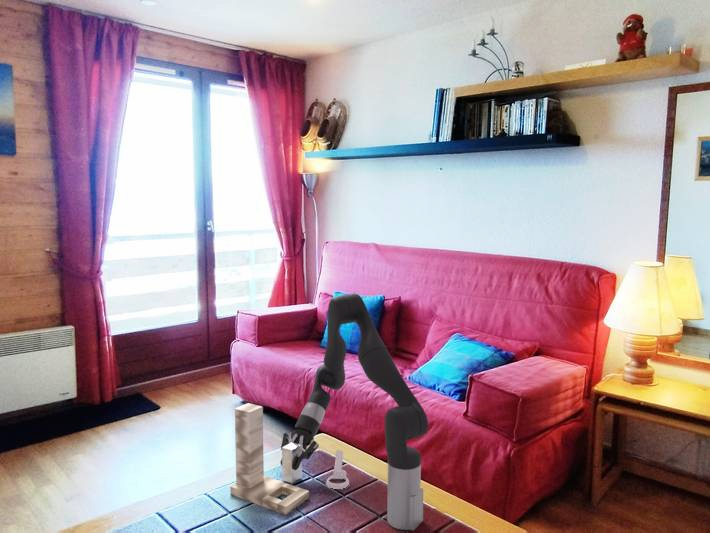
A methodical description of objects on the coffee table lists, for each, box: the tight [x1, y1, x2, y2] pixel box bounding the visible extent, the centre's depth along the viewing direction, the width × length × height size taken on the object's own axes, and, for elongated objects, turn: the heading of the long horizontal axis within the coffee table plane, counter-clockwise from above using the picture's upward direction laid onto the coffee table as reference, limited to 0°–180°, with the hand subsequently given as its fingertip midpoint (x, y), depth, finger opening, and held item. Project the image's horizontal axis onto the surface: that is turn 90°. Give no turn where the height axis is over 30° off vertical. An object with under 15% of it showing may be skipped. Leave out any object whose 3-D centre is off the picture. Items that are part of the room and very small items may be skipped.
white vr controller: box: [325, 449, 350, 490], centre depth 179 cm, size 8×12×7 cm
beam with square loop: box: [229, 402, 310, 516], centre depth 168 cm, size 22×11×26 cm, turn 57°
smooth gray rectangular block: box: [281, 443, 303, 484], centre depth 180 cm, size 4×5×11 cm
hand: (288, 467), depth 178 cm, fingers closed on smooth gray rectangular block, 4 cm apart
